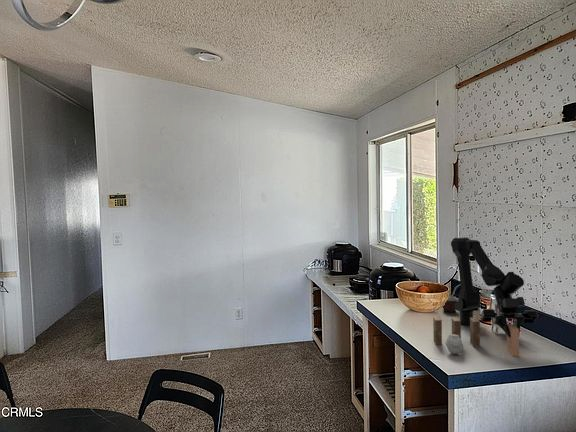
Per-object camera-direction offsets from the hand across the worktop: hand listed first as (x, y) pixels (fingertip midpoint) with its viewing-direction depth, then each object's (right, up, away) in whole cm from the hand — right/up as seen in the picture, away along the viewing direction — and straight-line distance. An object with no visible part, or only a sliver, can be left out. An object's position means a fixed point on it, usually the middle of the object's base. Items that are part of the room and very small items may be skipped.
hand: (514, 337), depth 144 cm
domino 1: (-23, -7, +14) cm, 28 cm away
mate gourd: (-1, -4, +54) cm, 54 cm away
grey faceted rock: (-21, -7, +3) cm, 22 cm away
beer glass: (+7, -5, +24) cm, 26 cm away
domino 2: (-16, -6, +13) cm, 21 cm away
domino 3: (-9, -6, +11) cm, 16 cm away
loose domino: (0, -7, +2) cm, 7 cm away
